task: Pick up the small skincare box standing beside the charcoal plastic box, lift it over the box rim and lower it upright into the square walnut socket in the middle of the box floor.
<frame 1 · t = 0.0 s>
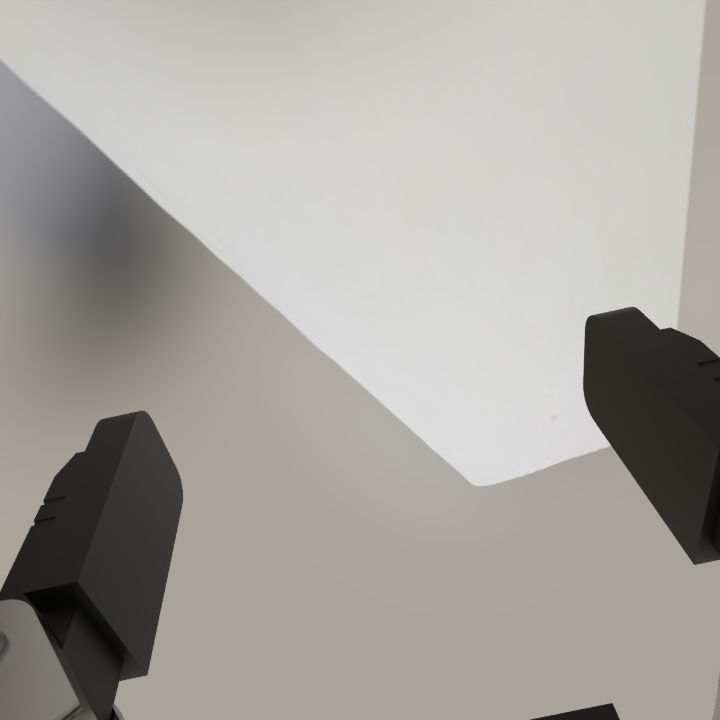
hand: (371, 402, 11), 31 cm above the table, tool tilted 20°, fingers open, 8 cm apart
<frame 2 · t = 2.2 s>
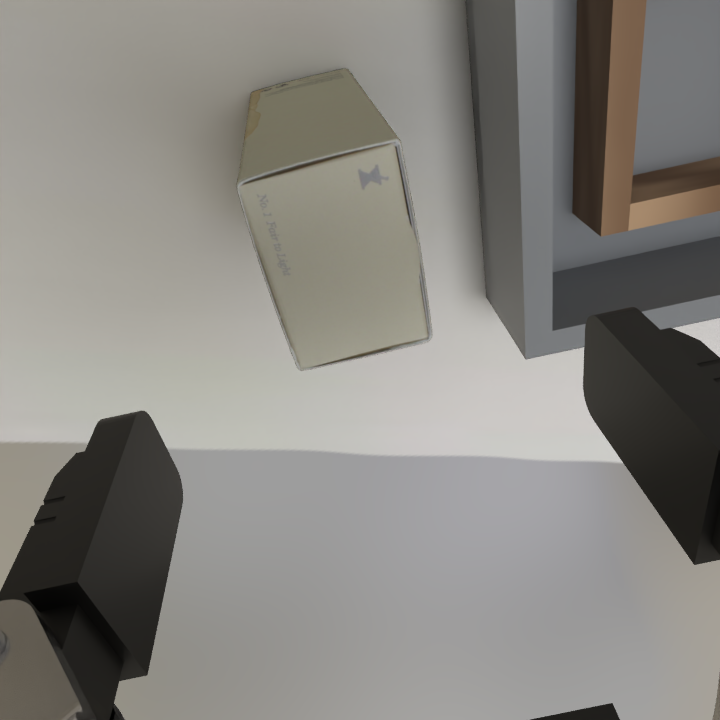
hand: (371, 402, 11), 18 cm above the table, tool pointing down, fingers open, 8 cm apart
skincare box: (319, 152, 26), on the table
square socket: (709, 84, 23), in the open box, point 2 cm above the table
open box: (674, 75, 26), on the table
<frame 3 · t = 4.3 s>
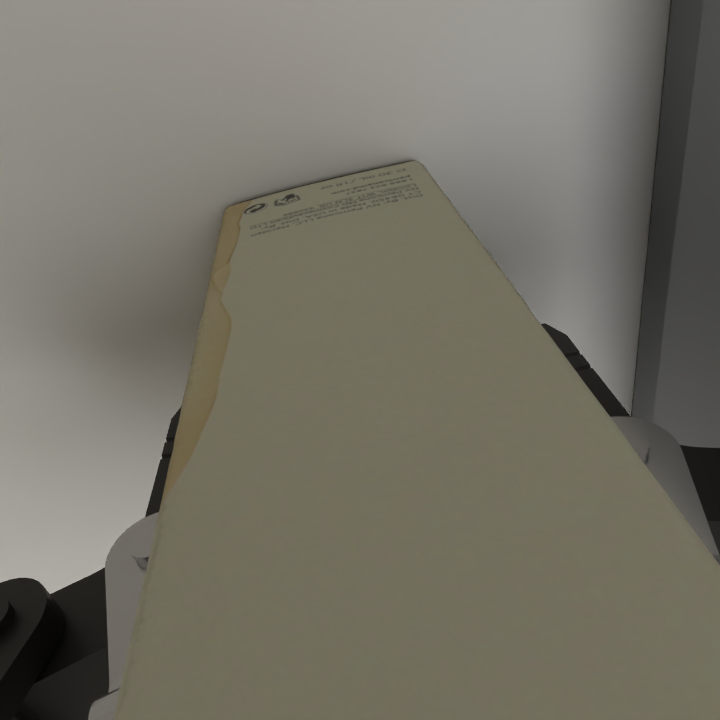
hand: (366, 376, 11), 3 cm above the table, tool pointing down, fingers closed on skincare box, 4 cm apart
skincare box: (355, 304, 14), on the table, touching gripper
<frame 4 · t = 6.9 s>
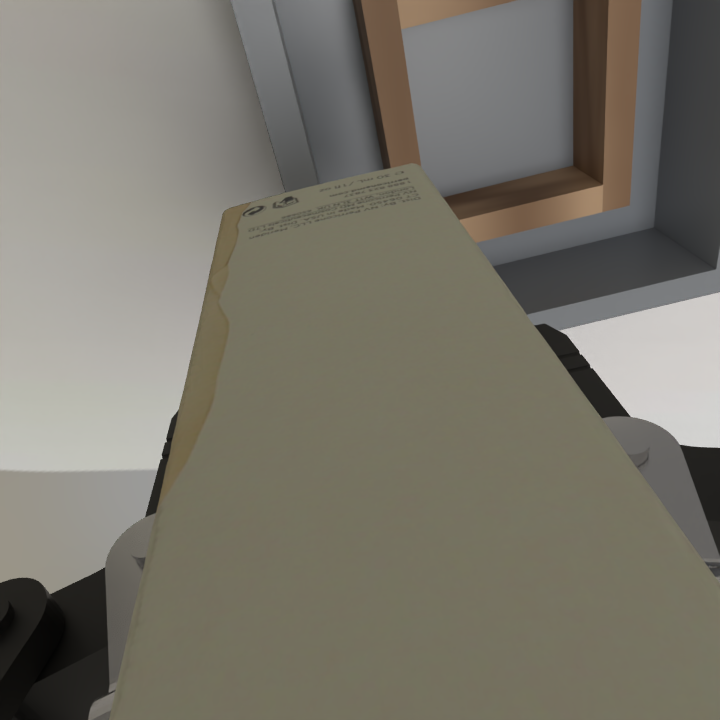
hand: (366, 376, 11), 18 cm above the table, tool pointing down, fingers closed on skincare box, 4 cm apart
skincare box: (354, 306, 14), point 15 cm above the table, touching gripper
square socket: (499, 106, 24), in the open box, point 2 cm above the table
open box: (481, 96, 26), on the table
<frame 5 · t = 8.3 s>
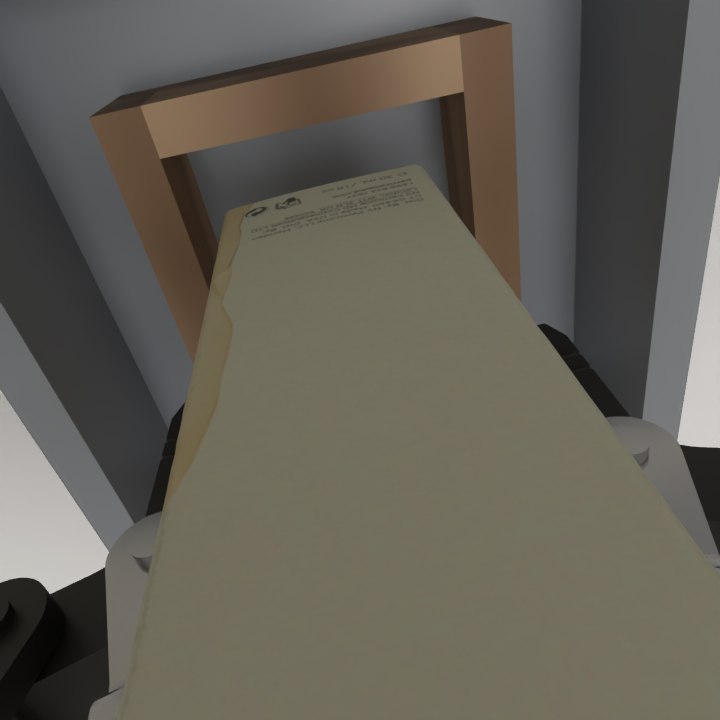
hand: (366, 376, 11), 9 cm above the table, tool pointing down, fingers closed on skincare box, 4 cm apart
skincare box: (356, 307, 14), point 6 cm above the table, touching gripper
square socket: (338, 245, 17), in the open box, point 2 cm above the table
open box: (332, 216, 19), on the table
when the fingers open (5 cm above the table, at t = 9.5 s): skincare box drops 1 cm, resting on open box.
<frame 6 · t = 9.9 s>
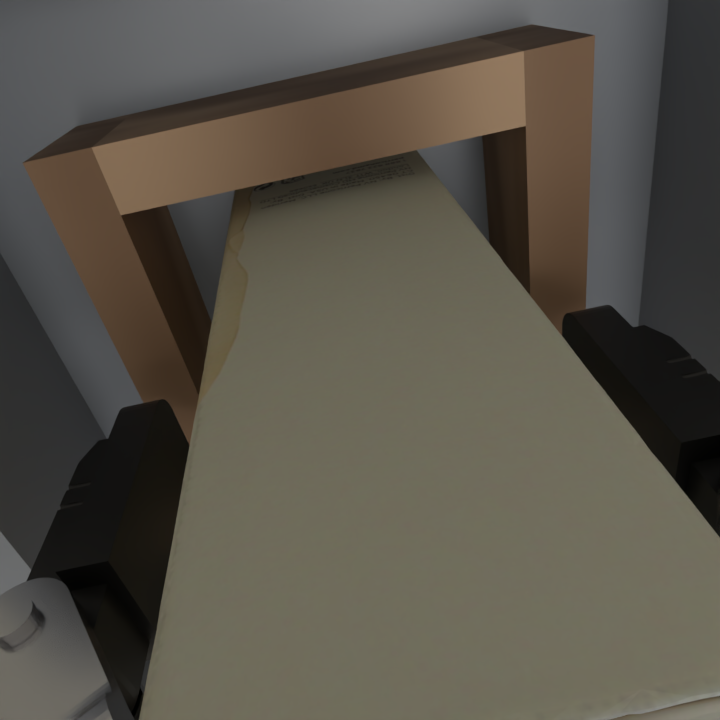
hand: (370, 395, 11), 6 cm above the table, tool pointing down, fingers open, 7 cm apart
skincare box: (353, 279, 15), point 1 cm above the table, touching open box
square socket: (353, 310, 14), in the open box, point 2 cm above the table
open box: (345, 266, 16), on the table
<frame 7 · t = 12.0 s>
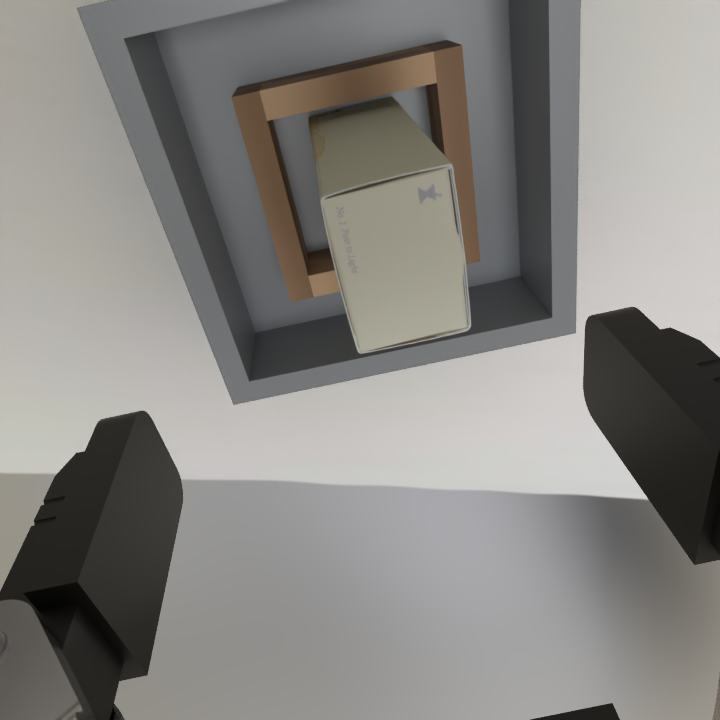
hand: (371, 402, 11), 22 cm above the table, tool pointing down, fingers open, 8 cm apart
skincare box: (364, 169, 29), point 1 cm above the table, touching open box
square socket: (364, 178, 28), in the open box, point 2 cm above the table
open box: (360, 164, 30), on the table
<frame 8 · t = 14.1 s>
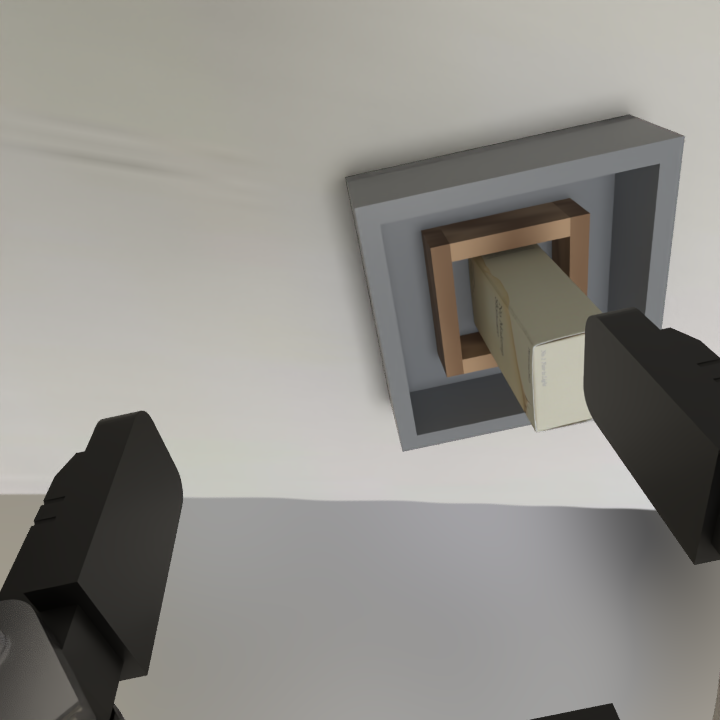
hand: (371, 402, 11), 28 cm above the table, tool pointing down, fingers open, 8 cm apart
skincare box: (500, 280, 40), point 1 cm above the table, touching open box
square socket: (506, 291, 39), in the open box, point 2 cm above the table
open box: (495, 275, 41), on the table
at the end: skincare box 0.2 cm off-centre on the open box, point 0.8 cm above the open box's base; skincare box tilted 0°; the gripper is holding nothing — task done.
